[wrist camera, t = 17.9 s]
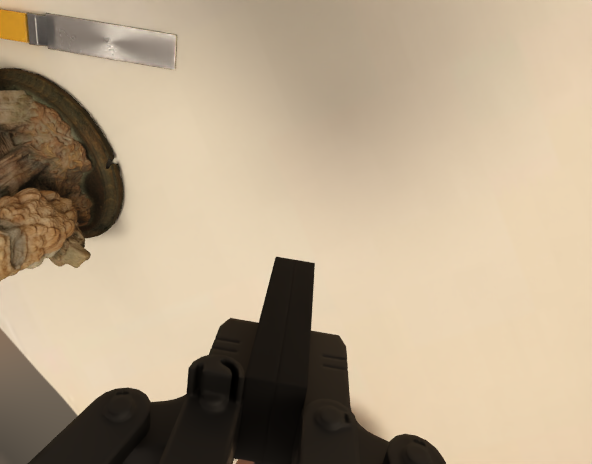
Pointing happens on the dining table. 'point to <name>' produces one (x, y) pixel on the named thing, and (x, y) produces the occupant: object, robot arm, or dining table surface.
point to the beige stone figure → (50, 175)
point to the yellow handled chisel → (91, 38)
